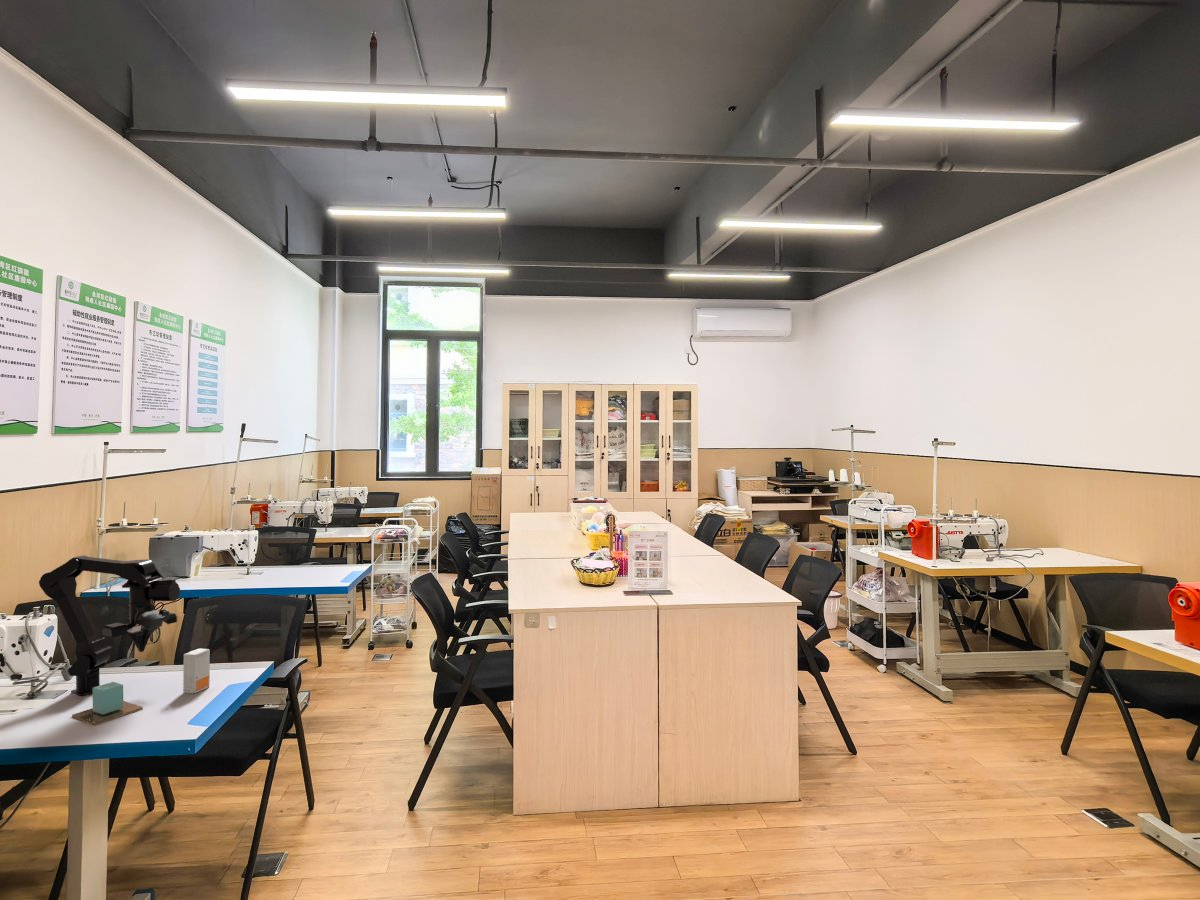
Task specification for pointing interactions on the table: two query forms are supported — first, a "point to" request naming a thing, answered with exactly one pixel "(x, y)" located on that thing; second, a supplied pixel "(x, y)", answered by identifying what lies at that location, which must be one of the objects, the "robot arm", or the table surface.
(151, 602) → the robot arm
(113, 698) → the teal rectangular block
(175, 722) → the table surface
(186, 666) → the skincare box
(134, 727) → the table surface
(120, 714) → the brown square base plate
